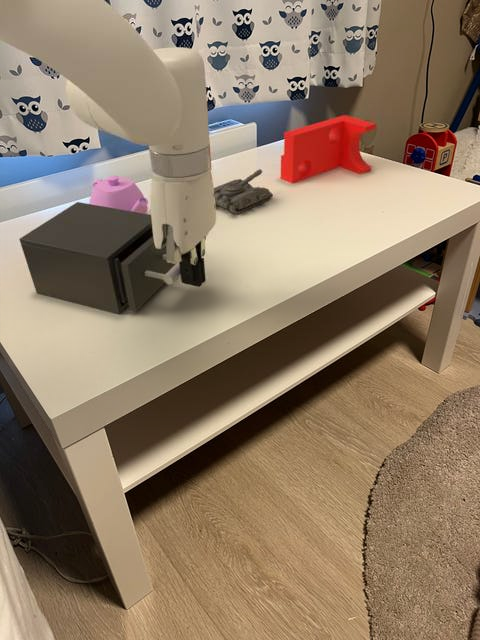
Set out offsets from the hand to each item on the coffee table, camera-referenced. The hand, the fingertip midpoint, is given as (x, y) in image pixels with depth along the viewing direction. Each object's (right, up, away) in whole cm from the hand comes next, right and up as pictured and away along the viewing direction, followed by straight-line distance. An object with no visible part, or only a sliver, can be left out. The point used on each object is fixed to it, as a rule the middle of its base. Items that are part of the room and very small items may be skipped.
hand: (193, 282), depth 77 cm
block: (-11, +1, +5) cm, 13 cm away
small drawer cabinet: (-15, +1, +8) cm, 17 cm away
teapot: (-15, +13, +24) cm, 31 cm away
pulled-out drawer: (-10, 0, +5) cm, 12 cm away
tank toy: (+7, +18, +30) cm, 36 cm away
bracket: (+26, +27, +41) cm, 55 cm away
